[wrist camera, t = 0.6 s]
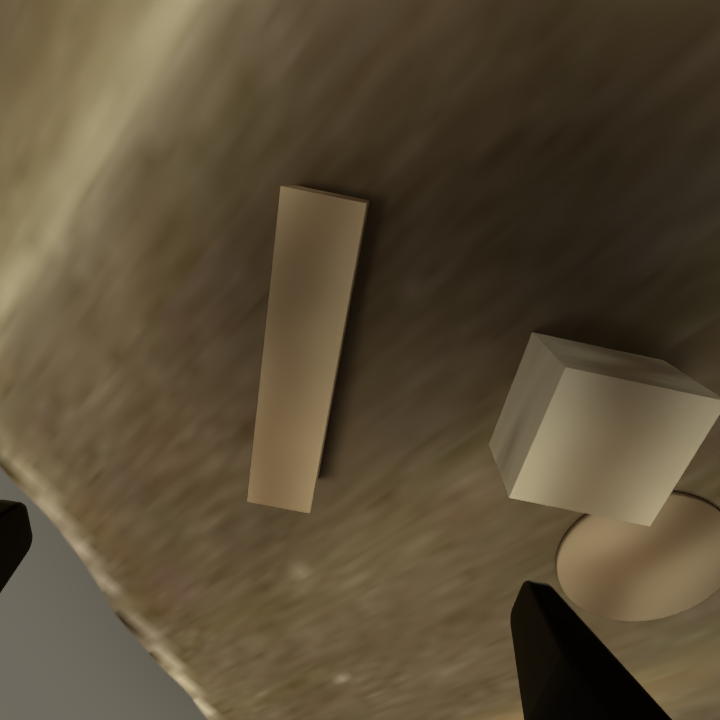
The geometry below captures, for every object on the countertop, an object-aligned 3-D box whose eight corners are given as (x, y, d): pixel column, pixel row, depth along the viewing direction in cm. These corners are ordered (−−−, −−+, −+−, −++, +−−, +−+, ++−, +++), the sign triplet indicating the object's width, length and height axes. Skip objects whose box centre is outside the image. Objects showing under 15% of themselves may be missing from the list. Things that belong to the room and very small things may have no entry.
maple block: (661, 358, 19) (727, 401, 15) (604, 466, 21) (649, 526, 18) (530, 330, 19) (565, 367, 15) (488, 442, 21) (509, 497, 17)
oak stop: (369, 200, 17) (366, 203, 15) (317, 479, 22) (309, 513, 20) (295, 185, 17) (280, 185, 15) (261, 468, 22) (247, 501, 20)
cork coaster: (768, 509, 21) (774, 515, 21) (681, 626, 25) (686, 633, 25) (594, 475, 21) (597, 480, 21) (532, 598, 25) (534, 604, 24)
